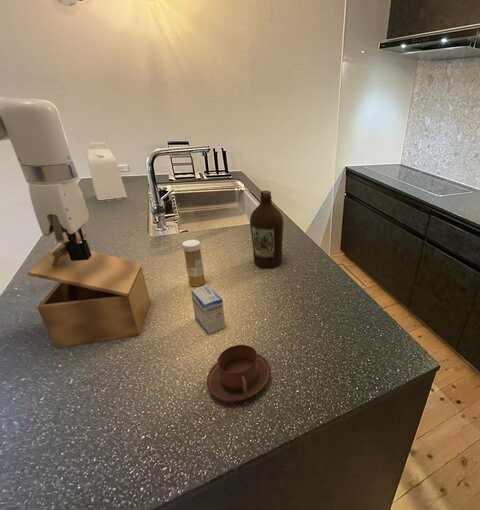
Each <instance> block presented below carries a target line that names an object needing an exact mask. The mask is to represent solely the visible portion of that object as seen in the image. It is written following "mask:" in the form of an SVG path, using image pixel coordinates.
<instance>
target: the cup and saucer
mask: <svg viewBox="0 0 480 510" xmlns="http://www.w3.org/2000/svg"><path fill="white" fill-rule="evenodd" d="M270 376H271V365H270V364H269V362H268V360H267V359H266V358H265V357H264V356H262V355H261V354H258V352H257V350H256V349H255V348H254V347H253V346H250V345H247V344H237V345H232V346H229V347H227V348H226V349H224V350H222V351H221V353H219V356H218V358H217V361H216V362H215V363H214V364H213V366H212V367H211V368H210V369H209V372H208V373H207V376H206V386H207V389H208V391H209V393H210V394H211V395H212V396H213V397H215V398H216V399H218V400H220V401H223V402H230V403H232V402H233V403H235V402H241V401H245V400H248V399H251V398H252V397H254V396H256V395H257V394H259V393H260V392H261V391H262V390H263V389H264V388H265V386H266V385H267V384H268V382H269V379H270Z"/></svg>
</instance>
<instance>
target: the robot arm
mask: <svg viewBox="0 0 480 510" xmlns="http://www.w3.org/2000/svg"><path fill="white" fill-rule="evenodd" d="M66 135H67V134H66V132H65V129H64V126H63V122H62V119H61V116H60V113H59V111H58V108H57V107H56V105H55V104H54V103H53V102H51V101H48V100H45V99H41V98H39V99H38V98H25V97H5V96H1V95H0V142H1V141H8V140H10V141H9V142H10V143H11V146H12V148H13V151H14V153H15V156H16V159H17V161H18V163H19V167H20V169H21V172H22V174H23V176H24V179H25V181H26V183H27V184H28V190H29V196H30V201H31V206H32V208H33V211H34V214H35V218H36V221H37V223H38V227H39V230H40V232H41V234H42V235H44V236H48V237H49V236H50V235H51V234H53V233H54V236H55V239H56V240H55V241H56V243H57V244H58V243H63V244H64V245H65V246H66V249H67V252H68V254H69V257H70V260H72V261H78V260H88V259H89V258H90V257H91V252H90V250H91V248H90V249H89V247H90V245H89V246H88V244H89V243H88V241H87V235H86V231H85V227H84V226H85V224H86V223H87V222H88V221H89V217H90V215H89V210H88V206H87V203H86V200H85V197H84V194H83V192H82V189H81V188H80V185H79V182H78V180H80V177H79V174H78V170H77V168H76V164H75V160H74V157H73V155H72V151H71V148H70V145H69V142H68V138H67V136H66ZM66 234H67V235H66Z"/></svg>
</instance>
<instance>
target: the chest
mask: <svg viewBox="0 0 480 510" xmlns="http://www.w3.org/2000/svg"><path fill="white" fill-rule="evenodd" d="M150 304H151V299H150V295H149V292H148V286H147V283H146V280H145V275H144V271H143V267H142V266H141V267H140V269H139V272H138V274H137V276H136V278H135V281H134V283H133V285H132V287H131V290H130V292H129V294H128V296H122V295H118V294H113V293H108V292H104V291H99V290H94V289H90V288H85V287H80V286H76V285H71V284H66V283H61V282H57V283H56V284H55V285H54V286H53V287H52V289H51V290H50V291H49V292H48V293H47V295H46V296H45V297H44V298H43V300H42V301H41V302H40V303H39V304H38V305H37V306H36V308H37V311H38V313H39V315H40V318H41V319H42V321H43V323H44V326H45V329H46V330H47V332H48V335H49V337H50V339H51V341H52V343H53V345H54V348H55V349H58V348H64V347H72V346H78V345H79V346H80V345H85V344H86V345H87V344H91V343H99V342H103V341H104V342H106V341H111V340H112V341H113V340H118V339H119V340H120V339H125V338H132V337H139V336H140V335H141V331H142V329H143V325H144V323H145V319H146V317H147V313H148V311H149V307H150Z"/></svg>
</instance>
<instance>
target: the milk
mask: <svg viewBox="0 0 480 510" xmlns="http://www.w3.org/2000/svg"><path fill="white" fill-rule="evenodd" d="M86 153H87V155H86V159H87V164H88V168H89V172H90V175H91V176H90V177H91V181H92V186H93V189H94V194H95V198H96V199H98V200H105V199H113V198H121V197H127V198H128V195H127V193H126V189H125V185H124V182H123V178H122V175H121V172H120V168H119V165H118V162H117V159H116V158H115V156H114V154H113V152H112V151H111V149H110V148H109V146H108V145H107V143H106V142H88V147H87V152H86ZM98 200H97V201H98Z"/></svg>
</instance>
